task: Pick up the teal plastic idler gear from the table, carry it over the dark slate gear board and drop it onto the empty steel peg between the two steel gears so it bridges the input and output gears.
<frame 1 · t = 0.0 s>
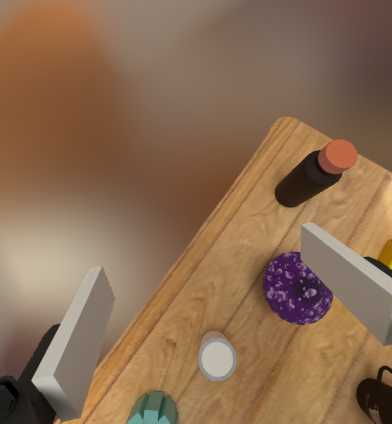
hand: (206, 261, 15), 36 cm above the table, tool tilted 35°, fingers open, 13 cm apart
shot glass: (214, 345, 46), on the table
coffee mug: (372, 387, 44), on the table
decorative mushroom: (279, 282, 49), on the table
bottle: (288, 194, 54), on the table
idler gear: (154, 417, 43), on the table
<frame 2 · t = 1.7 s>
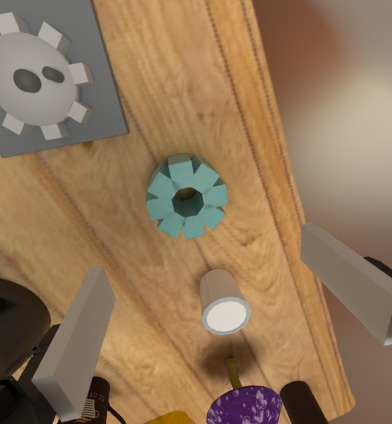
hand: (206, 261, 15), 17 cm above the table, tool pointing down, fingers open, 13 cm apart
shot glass: (216, 282, 37), on the table
coffee mug: (99, 389, 43), on the table
decorative mushroom: (229, 357, 44), on the table
bottle: (293, 389, 51), on the table
idler gear: (184, 187, 30), on the table
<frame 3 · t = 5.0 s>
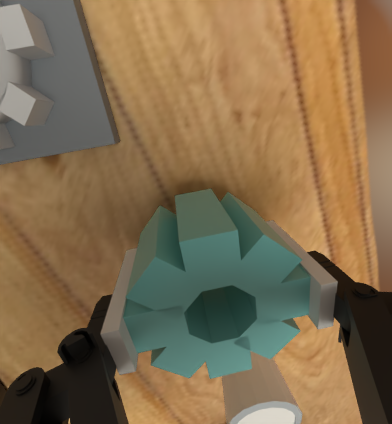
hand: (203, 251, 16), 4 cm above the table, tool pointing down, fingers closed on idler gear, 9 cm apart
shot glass: (242, 349, 26), on the table
idler gear: (203, 249, 16), point 4 cm above the table, touching gripper
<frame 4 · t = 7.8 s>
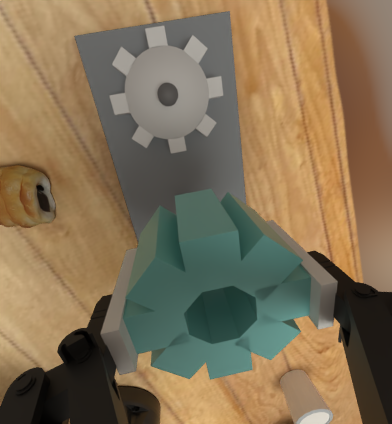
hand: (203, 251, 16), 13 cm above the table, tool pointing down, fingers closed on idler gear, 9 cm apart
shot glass: (292, 377, 45), on the table
gear board: (186, 196, 28), on the table
idler gear: (203, 249, 16), point 13 cm above the table, touching gripper
pastry: (20, 194, 26), on the table
when the fingers open (2 cm above the table, at t = 10.5 s): idler gear stays where it is, resting on gear board.
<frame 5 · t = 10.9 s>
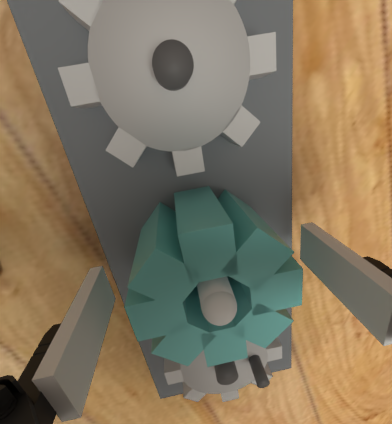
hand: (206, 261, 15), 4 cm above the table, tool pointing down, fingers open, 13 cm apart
gear board: (199, 235, 18), on the table
idler gear: (201, 244, 17), point 1 cm above the table, touching gear board
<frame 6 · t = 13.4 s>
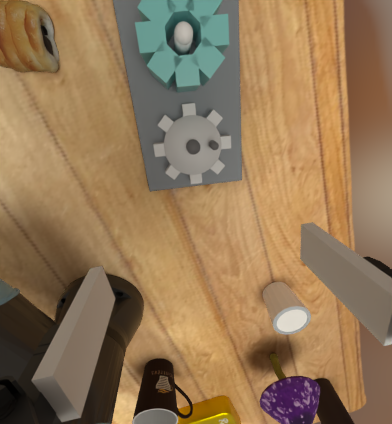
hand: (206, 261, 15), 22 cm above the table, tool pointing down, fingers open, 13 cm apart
element tile: (208, 413, 62), on the table
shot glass: (275, 291, 46), on the table
coffee mug: (163, 369, 53), on the table
gear board: (181, 53, 28), on the table
decorative mushroom: (272, 353, 53), on the table
bottle: (317, 385, 60), on the table
idler gear: (181, 50, 27), point 1 cm above the table, touching gear board
pastry: (25, 44, 27), on the table
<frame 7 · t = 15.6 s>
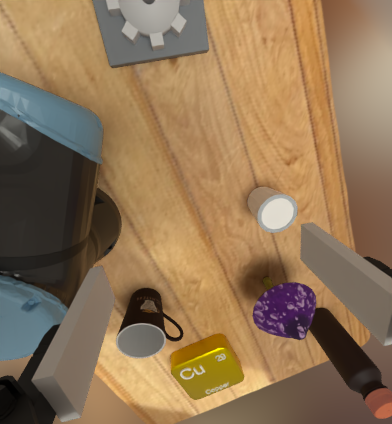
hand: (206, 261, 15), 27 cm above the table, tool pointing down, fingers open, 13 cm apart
element tile: (206, 357, 59), on the table
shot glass: (261, 200, 43), on the table
coffee mug: (151, 302, 49), on the table
decorative mushroom: (265, 278, 51), on the table
bottle: (316, 316, 57), on the table
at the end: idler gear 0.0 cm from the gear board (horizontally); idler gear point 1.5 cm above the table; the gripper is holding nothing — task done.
